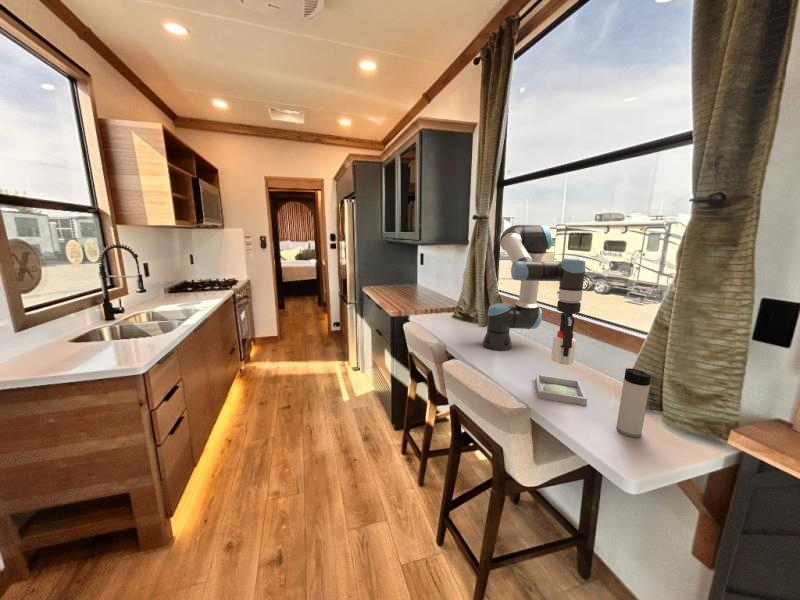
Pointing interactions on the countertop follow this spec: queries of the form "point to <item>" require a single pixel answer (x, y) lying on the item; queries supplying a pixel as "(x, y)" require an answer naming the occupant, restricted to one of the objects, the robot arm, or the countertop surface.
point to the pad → (559, 389)
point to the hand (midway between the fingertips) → (562, 360)
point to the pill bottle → (557, 349)
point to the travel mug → (633, 402)
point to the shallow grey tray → (557, 396)
